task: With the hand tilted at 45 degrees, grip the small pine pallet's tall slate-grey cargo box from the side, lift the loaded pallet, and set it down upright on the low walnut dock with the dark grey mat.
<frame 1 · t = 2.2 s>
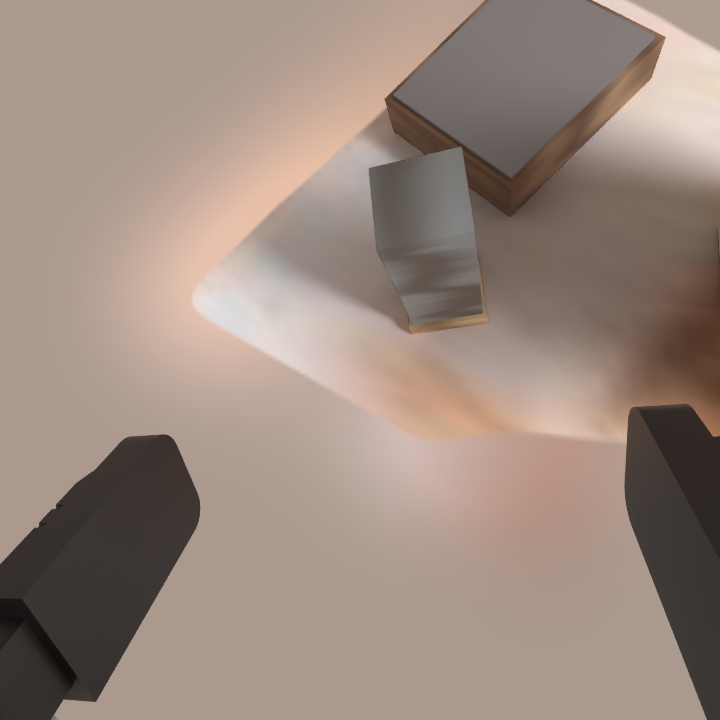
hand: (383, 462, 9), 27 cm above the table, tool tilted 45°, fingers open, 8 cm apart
dock: (515, 106, 41), on the table
loaded pallet: (444, 293, 39), on the table
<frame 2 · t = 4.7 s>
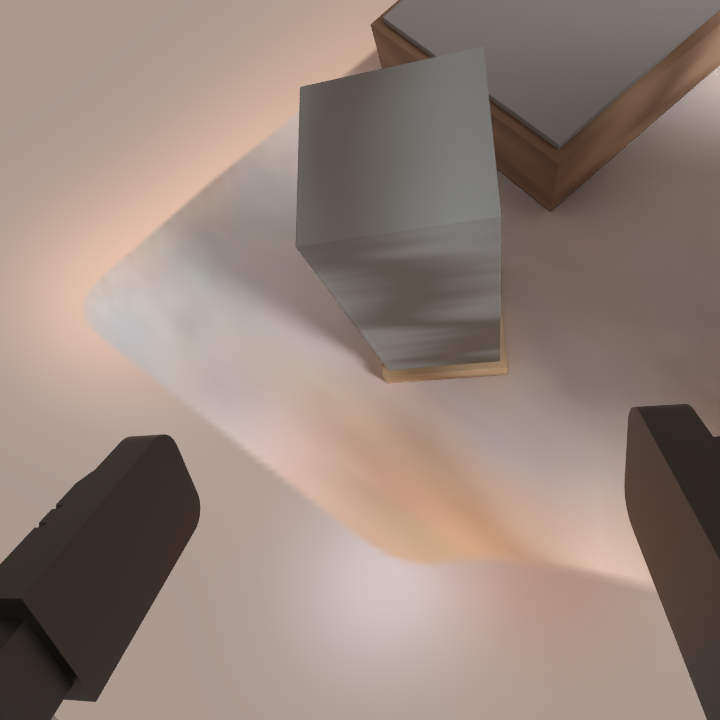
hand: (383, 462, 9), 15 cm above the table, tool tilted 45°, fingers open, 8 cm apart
dock: (565, 48, 28), on the table
loaded pallet: (442, 323, 25), on the table
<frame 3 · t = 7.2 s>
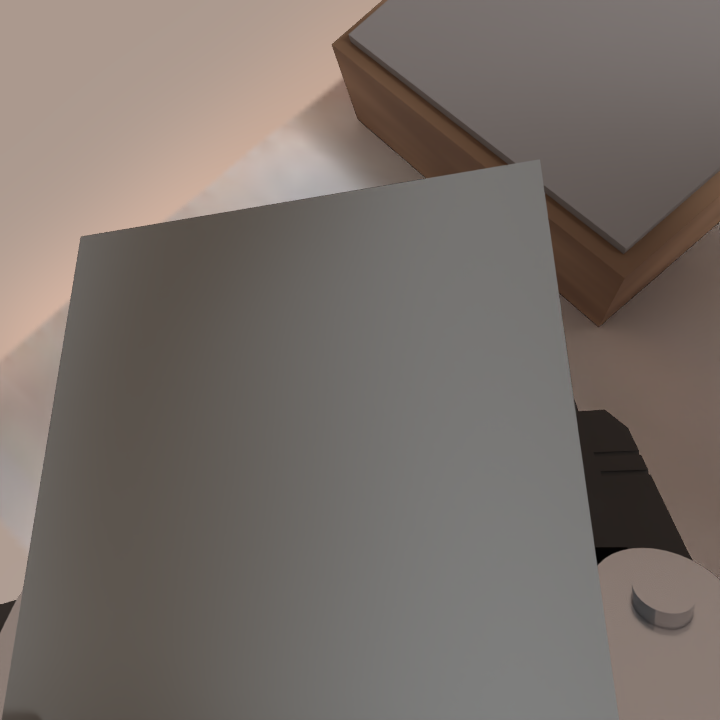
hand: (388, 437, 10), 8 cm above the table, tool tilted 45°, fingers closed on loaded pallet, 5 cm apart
dock: (614, 78, 19), on the table
loaded pallet: (436, 497, 17), on the table, touching gripper
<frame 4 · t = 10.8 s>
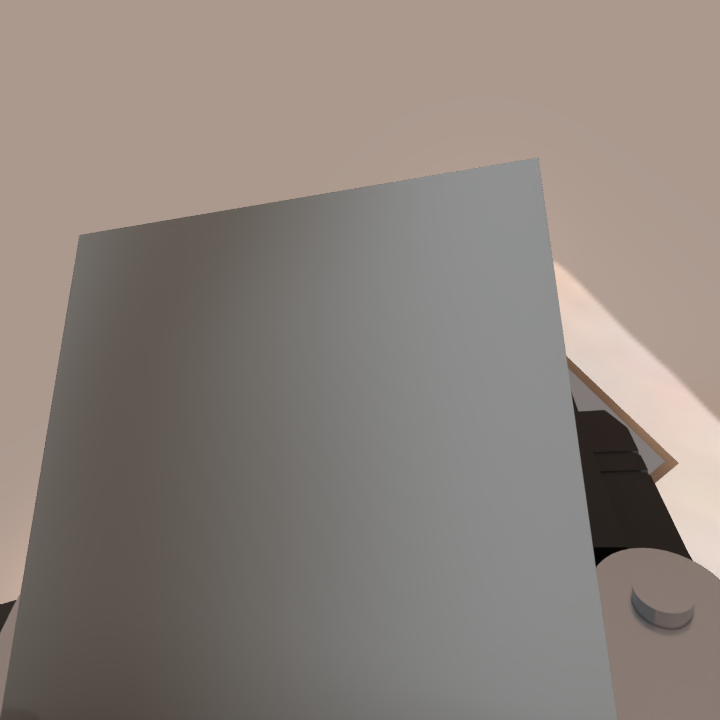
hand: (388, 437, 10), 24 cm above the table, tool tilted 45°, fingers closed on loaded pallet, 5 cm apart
dock: (479, 464, 32), on the table
loaded pallet: (435, 496, 17), point 16 cm above the table, touching gripper
when the fingers open (13 cm above the table, at t = 14.2 s): loaded pallet drops 2 cm, resting on dock.
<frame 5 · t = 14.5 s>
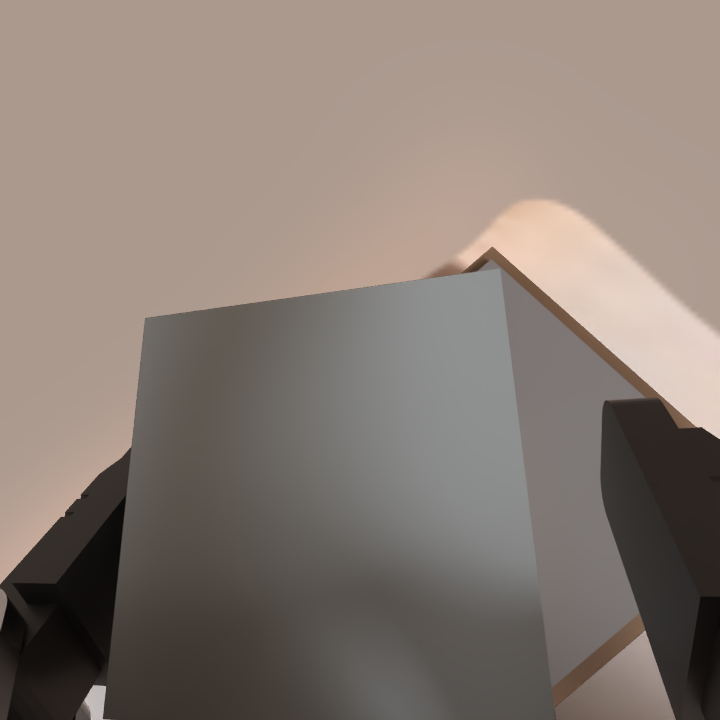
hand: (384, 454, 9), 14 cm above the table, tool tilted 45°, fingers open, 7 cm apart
dock: (466, 500, 22), on the table
loaded pallet: (435, 508, 18), point 4 cm above the table, touching dock
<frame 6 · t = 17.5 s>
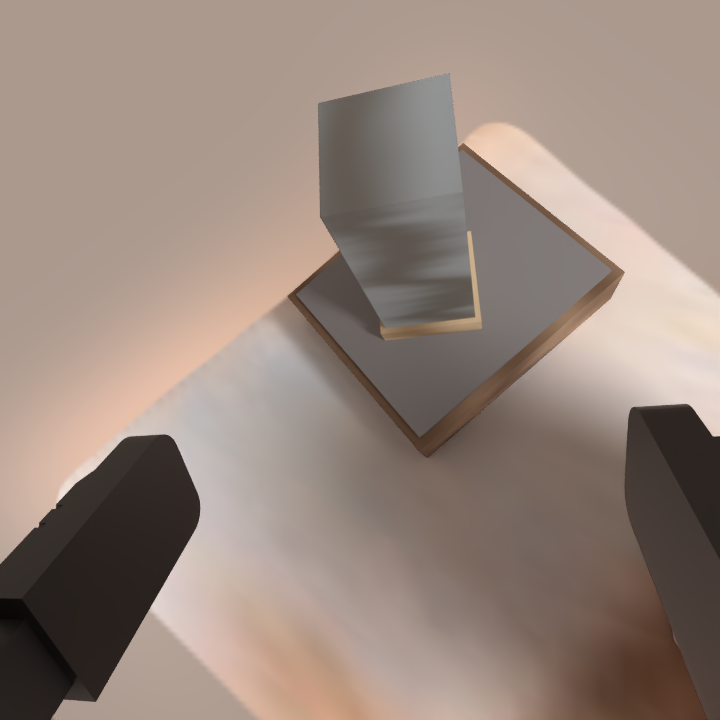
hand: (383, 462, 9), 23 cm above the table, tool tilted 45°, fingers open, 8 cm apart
dock: (448, 308, 34), on the table
loaded pallet: (428, 290, 31), point 4 cm above the table, touching dock
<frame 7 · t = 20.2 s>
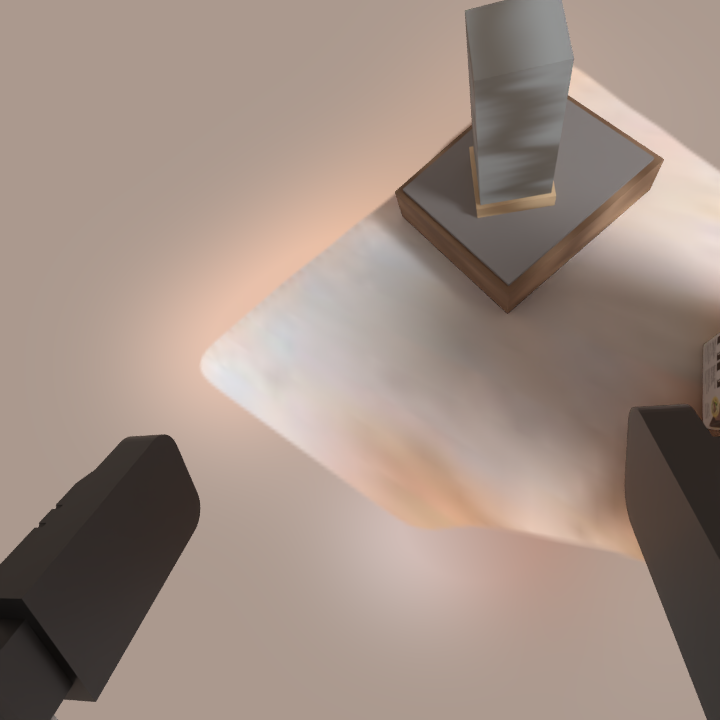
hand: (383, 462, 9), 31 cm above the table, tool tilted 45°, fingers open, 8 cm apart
dock: (519, 203, 43), on the table
loaded pallet: (510, 180, 40), point 4 cm above the table, touching dock
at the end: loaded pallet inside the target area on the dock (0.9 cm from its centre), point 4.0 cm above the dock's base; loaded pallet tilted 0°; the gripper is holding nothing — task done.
